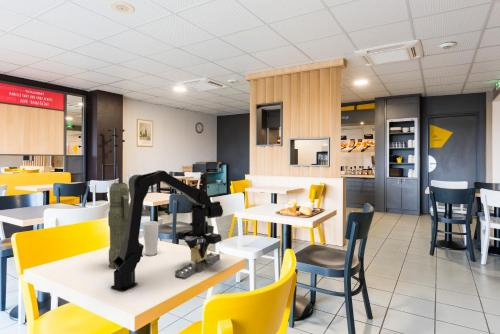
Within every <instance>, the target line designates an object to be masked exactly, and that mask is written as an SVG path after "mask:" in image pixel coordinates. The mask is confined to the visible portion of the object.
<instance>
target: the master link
mask: <svg viewBox="0 0 500 334" xmlns="http://www.w3.org/2000/svg"><path fill="white" fill-rule="evenodd" d="M207 254H208V249H207V250H206V253H205V256H204V258H202V257H201V250H200V243H199V244H197V246H194V247H192V248H191V250H190V262H191V263H192V262H193V263H195V262H197V263H198V262H200V261H202V260H204V259H206V258H207Z"/></svg>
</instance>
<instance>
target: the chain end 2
mask: <svg viewBox="0 0 500 334" xmlns="http://www.w3.org/2000/svg"><path fill="white" fill-rule="evenodd" d="M220 259H221V254H220V253H213V252H210V253H207V258H206V259H204V260H202V261H200V262H198V263H197V262H194V264H195V266H199V265H200V264H204V263H206V268H210V267H211V266H213V264H214V263H216V262H217V261H219V260H220Z"/></svg>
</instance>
